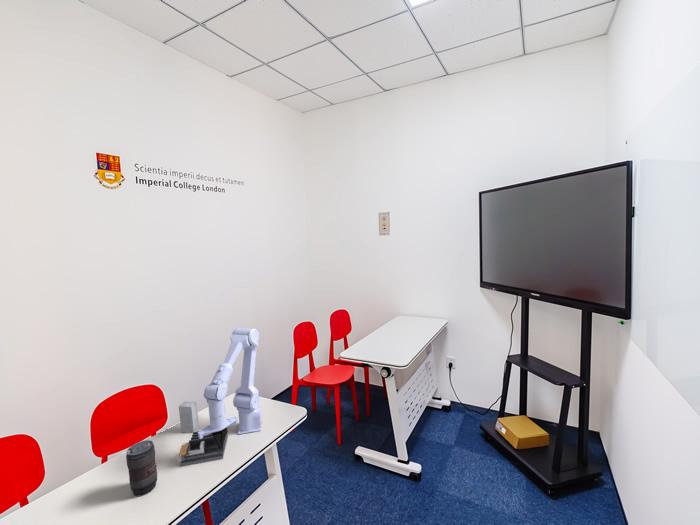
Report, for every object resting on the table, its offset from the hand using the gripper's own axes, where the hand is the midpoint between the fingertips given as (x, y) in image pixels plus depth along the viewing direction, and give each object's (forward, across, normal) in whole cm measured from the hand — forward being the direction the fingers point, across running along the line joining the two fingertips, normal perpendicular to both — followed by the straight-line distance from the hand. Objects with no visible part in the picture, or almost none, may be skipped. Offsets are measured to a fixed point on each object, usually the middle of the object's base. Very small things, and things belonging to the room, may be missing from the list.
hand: (220, 447), depth 128 cm
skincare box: (+3, +4, -26) cm, 26 cm away
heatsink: (+3, +4, -6) cm, 8 cm away
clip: (+2, +9, -5) cm, 10 cm away
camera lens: (+3, +25, -1) cm, 26 cm away
